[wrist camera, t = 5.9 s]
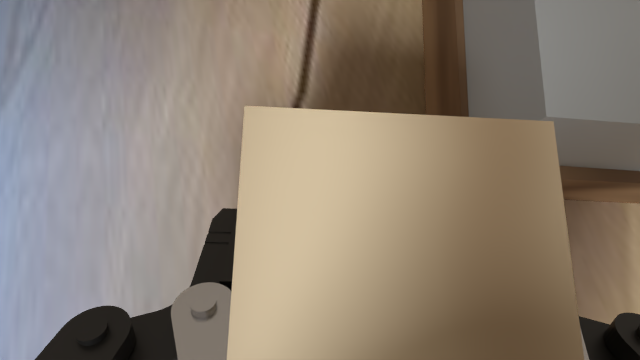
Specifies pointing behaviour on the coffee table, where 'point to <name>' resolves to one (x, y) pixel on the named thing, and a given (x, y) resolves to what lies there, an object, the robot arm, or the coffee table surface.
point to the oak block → (400, 239)
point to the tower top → (560, 73)
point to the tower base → (452, 100)
